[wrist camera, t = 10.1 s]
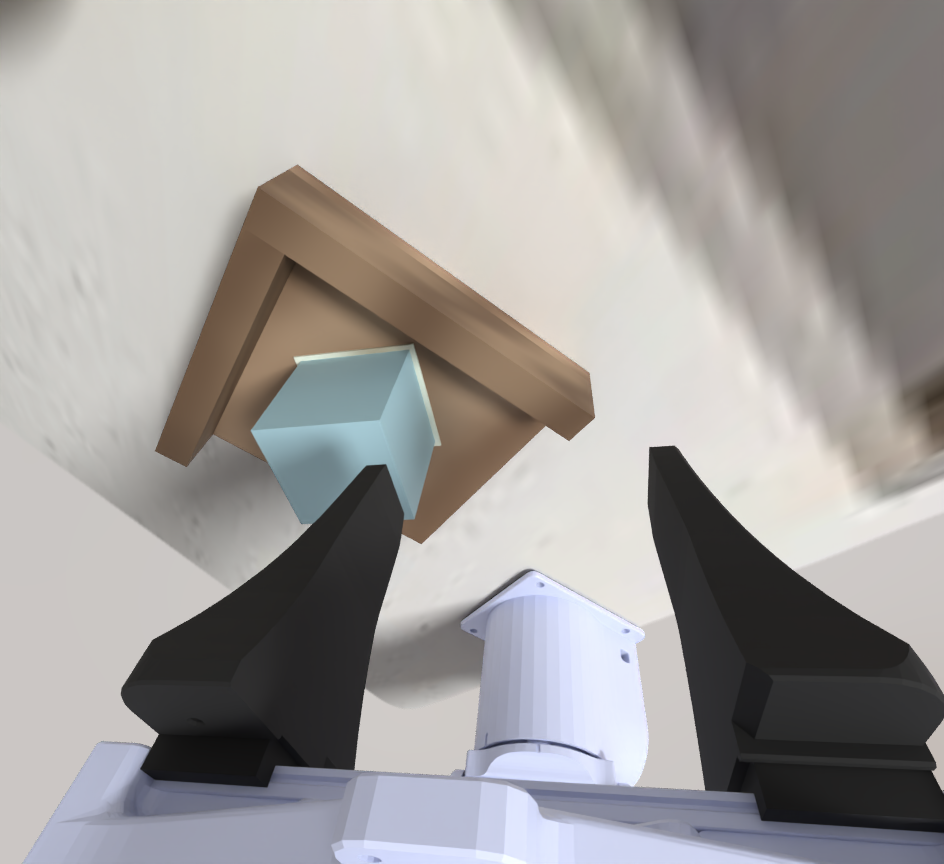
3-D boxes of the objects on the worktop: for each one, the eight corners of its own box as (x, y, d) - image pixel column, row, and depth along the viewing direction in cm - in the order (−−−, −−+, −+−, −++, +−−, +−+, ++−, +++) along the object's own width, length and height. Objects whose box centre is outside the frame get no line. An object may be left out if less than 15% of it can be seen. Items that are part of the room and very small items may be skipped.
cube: (409, 349, 22) (379, 420, 18) (435, 441, 25) (414, 519, 21) (300, 361, 23) (250, 430, 19) (338, 448, 26) (301, 524, 22)
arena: (589, 372, 23) (595, 417, 20) (423, 533, 31) (412, 580, 28) (297, 164, 19) (257, 187, 16) (192, 409, 27) (155, 451, 24)
